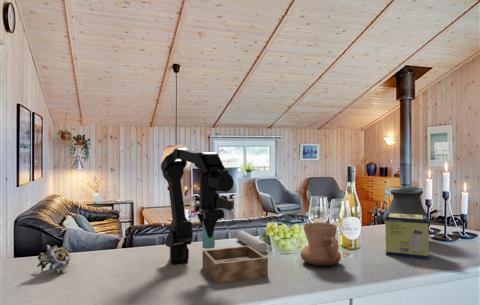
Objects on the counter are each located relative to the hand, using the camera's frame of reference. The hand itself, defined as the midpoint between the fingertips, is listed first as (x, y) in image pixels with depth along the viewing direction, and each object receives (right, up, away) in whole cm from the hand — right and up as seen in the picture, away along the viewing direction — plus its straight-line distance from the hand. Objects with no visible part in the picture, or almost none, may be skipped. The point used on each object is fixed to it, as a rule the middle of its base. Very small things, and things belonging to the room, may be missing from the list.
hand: (208, 236), depth 113 cm
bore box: (+8, -13, +4) cm, 16 cm away
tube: (+16, -14, +37) cm, 43 cm away
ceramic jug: (+41, -13, +12) cm, 44 cm away
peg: (0, -4, 0) cm, 4 cm away
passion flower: (-54, -14, +4) cm, 56 cm away
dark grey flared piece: (+90, -14, +47) cm, 102 cm away
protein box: (+78, -13, +23) cm, 82 cm away
